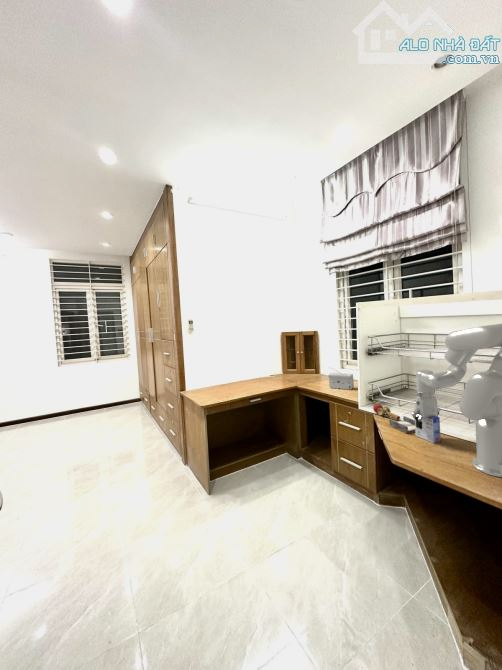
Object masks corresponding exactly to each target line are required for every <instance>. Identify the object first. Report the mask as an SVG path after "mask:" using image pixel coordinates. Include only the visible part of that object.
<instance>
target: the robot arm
mask: <svg viewBox="0 0 502 670" xmlns="http://www.w3.org/2000/svg"><path fill="white" fill-rule="evenodd" d="M444 339H445V340H444V343H445V344H444V345H445V346H446V348H447V351H446V352H445V353H444V358H445V360H446V362H447V363H449V364H450V365H449V366H448V368H447V369H446V370H445V371H440V372H435V373H434V372H433V371H432V370H428V369H419V370H417V371H416V373H415V376H416V377H415V378H416V380H415V381H416V382H415V383H416V398H415V405H414V406H415V408H414V409H415V410H414V411H412V412H411V416H412V418H413V420H416V427H417V428H420V429H422V421H421V420H422V418H428V417H432V416H436V417H439V415H440V411H441V408H440V407H438V400H437V398H436V397H437V396H435V390H437V391H438V390H443V389H447V388H451V387H455V386H456V385H457V384H459V383H460V382H461V380H463V378H464V377H465V375H466V373H467V367H468V366H467V364H468V362H469V361H470V360H471V359H472V358H473V356H474V355H475V354H476V353H477V351H478V350H484V349H485V350H486V349H493V348H499V347H500V349H499V351H498V352H497V353H496V354H495V355H494V357H493V360H492V362H491V364H490V366H489V367H488V369H487V370H486V371H480V372H477V373H474V374H473V375H471V376H470V377H469V379H468V380H467V382H466V384H465V387H464V389H463V391H462V395H461V397H460V399H459V409H460V412H461V414H462V415H463V416H464V417H465V418H466V419H468V420H471V421H475V442H476V444H475V445H476V447H475V449H476V457H475V458H473V459H472V461H471V463H472V466H473V467H474V468H475V469H476V470H478V471H480V472H481V473H484V474H486V475H489V476H493V477H498V478H502V323H496V324H495V323H494V324H488V325H483V326H482V325H481V326H477V327H472V328H467V329H461V330H460V329H459V330H455V331H452V332H450V333H449V334H447V336H445V338H444ZM419 416H420V418H418V417H419Z"/></svg>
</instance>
